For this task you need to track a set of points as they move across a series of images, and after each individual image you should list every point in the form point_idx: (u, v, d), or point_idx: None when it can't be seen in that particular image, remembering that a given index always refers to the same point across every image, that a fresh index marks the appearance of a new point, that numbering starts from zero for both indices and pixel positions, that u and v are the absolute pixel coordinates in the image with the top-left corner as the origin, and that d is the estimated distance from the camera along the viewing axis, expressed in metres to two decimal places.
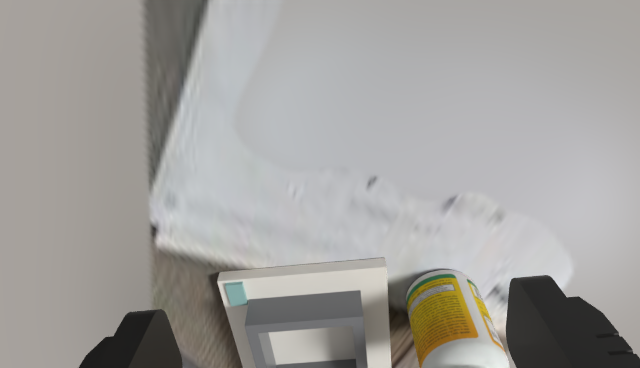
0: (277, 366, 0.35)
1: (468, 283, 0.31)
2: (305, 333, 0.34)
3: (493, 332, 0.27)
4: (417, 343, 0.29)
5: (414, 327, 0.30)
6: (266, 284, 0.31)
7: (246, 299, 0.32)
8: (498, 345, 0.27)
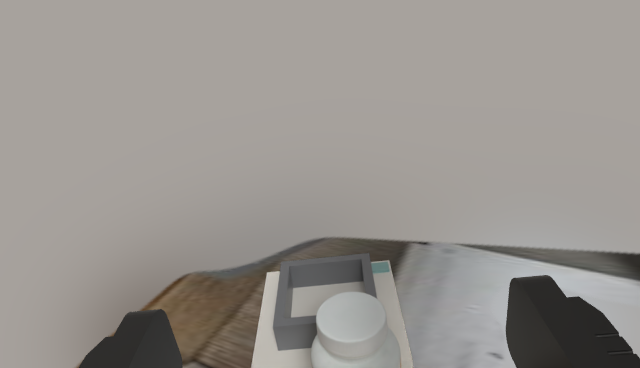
0: (292, 287, 0.40)
1: None
2: None
3: None
4: None
5: None
6: (387, 283, 0.40)
7: (372, 272, 0.41)
8: None
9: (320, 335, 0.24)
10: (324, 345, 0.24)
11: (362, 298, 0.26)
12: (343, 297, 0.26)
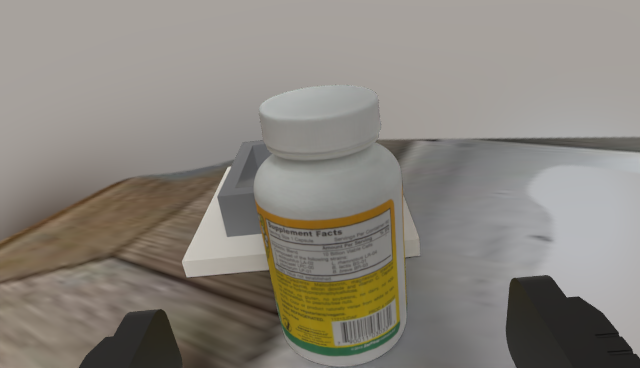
0: None
1: (399, 318, 0.17)
2: None
3: (384, 233, 0.14)
4: None
5: None
6: None
7: None
8: (384, 204, 0.14)
9: (264, 127, 0.14)
10: (270, 142, 0.14)
11: (339, 88, 0.16)
12: (310, 90, 0.16)
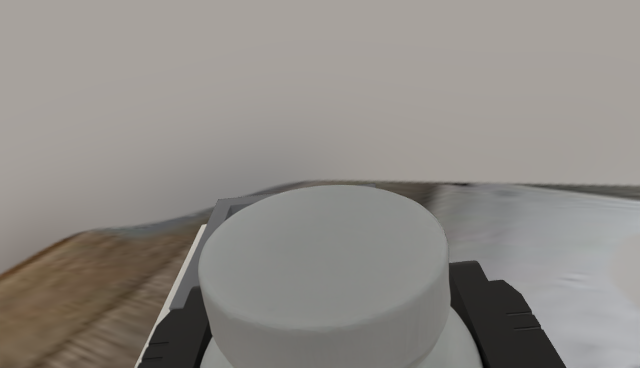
0: None
1: None
2: None
3: None
4: None
5: None
6: None
7: None
8: None
9: (206, 307, 0.07)
10: (219, 342, 0.06)
11: (362, 198, 0.08)
12: (304, 198, 0.08)
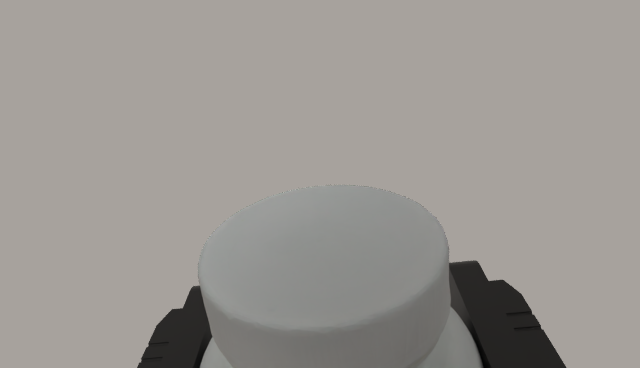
0: None
1: None
2: None
3: None
4: None
5: None
6: None
7: None
8: None
9: (206, 307, 0.07)
10: (219, 343, 0.06)
11: (362, 198, 0.08)
12: (304, 198, 0.08)
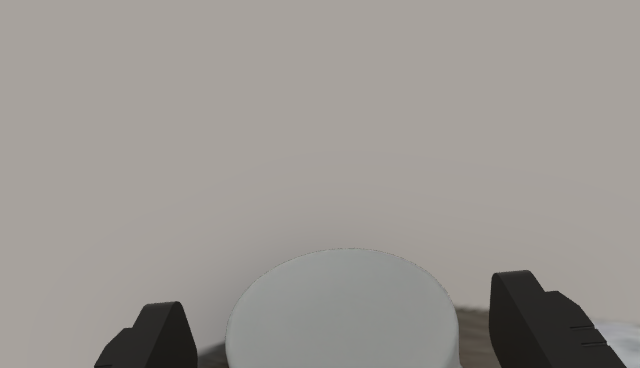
0: None
1: None
2: None
3: None
4: None
5: None
6: None
7: None
8: None
9: None
10: None
11: (375, 265, 0.09)
12: (320, 264, 0.09)
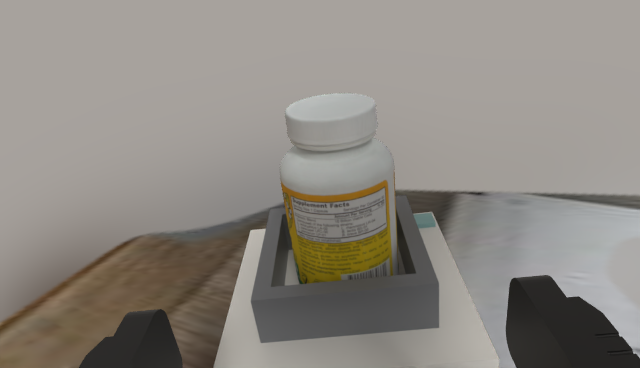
0: (288, 248, 0.26)
1: (392, 274, 0.21)
2: None
3: (380, 206, 0.19)
4: None
5: None
6: (433, 242, 0.26)
7: None
8: (380, 183, 0.19)
9: (290, 126, 0.19)
10: (295, 137, 0.19)
11: (345, 95, 0.20)
12: (322, 97, 0.21)
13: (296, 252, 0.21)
